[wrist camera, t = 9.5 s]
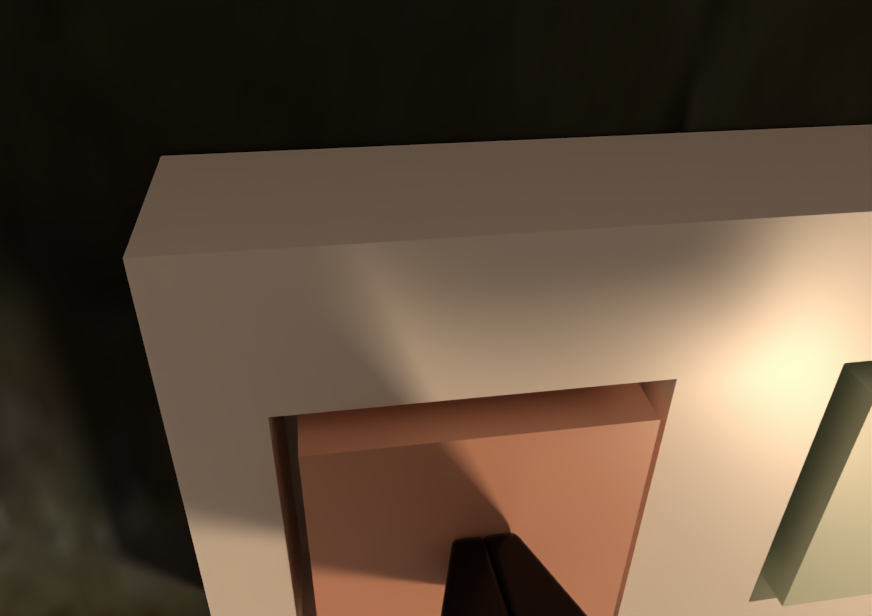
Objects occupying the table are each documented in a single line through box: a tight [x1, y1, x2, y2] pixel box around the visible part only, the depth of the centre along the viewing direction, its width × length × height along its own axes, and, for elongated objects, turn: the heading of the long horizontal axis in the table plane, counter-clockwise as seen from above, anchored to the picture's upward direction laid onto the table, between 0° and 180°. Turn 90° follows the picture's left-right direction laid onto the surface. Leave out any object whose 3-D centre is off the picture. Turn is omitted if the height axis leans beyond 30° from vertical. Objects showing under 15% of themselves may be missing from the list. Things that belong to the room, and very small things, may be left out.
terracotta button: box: [298, 383, 661, 616], centre depth 10 cm, size 4×4×2 cm
